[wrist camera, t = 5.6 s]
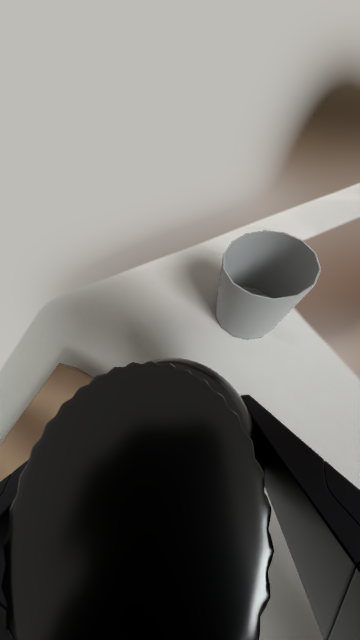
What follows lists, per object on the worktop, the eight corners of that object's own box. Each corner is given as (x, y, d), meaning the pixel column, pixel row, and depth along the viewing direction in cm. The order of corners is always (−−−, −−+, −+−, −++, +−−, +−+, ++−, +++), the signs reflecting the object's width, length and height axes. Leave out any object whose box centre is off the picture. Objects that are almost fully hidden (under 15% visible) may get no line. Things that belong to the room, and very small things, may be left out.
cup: (203, 314, 25) (204, 265, 16) (238, 280, 27) (255, 220, 18) (253, 352, 22) (287, 318, 13) (288, 310, 24) (339, 255, 15)
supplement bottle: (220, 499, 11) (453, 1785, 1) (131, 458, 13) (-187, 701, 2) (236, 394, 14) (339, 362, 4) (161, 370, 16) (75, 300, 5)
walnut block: (88, 579, 15) (64, 617, 12) (-5, 484, 19) (-38, 497, 16) (161, 416, 20) (154, 418, 17) (75, 367, 24) (59, 363, 21)
